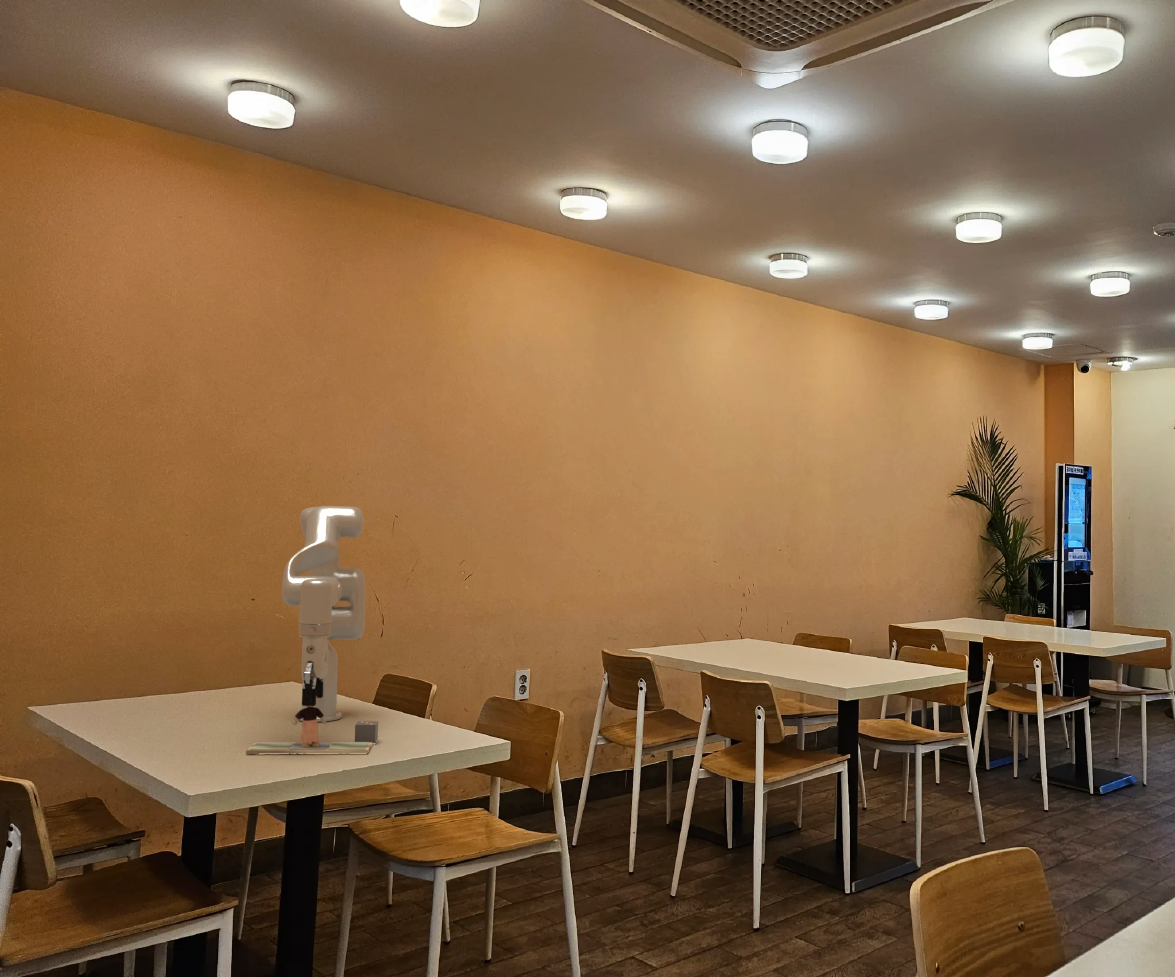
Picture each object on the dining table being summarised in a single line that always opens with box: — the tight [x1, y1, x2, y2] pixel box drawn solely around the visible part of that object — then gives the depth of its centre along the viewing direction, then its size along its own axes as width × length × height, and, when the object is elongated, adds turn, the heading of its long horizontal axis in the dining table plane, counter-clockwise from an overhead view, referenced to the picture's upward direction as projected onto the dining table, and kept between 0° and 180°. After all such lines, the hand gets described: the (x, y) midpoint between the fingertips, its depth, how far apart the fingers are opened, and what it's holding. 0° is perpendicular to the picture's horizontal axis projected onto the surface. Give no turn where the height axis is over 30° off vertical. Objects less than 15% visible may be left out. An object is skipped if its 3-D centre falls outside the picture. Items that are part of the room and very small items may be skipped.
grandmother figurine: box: [292, 697, 327, 747], centre depth 229 cm, size 8×4×13 cm, turn 127°
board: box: [245, 741, 373, 755], centre depth 229 cm, size 9×28×1 cm, turn 96°
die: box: [354, 720, 379, 744], centre depth 240 cm, size 5×5×5 cm
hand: (312, 701), depth 231 cm, fingers open, 9 cm apart
